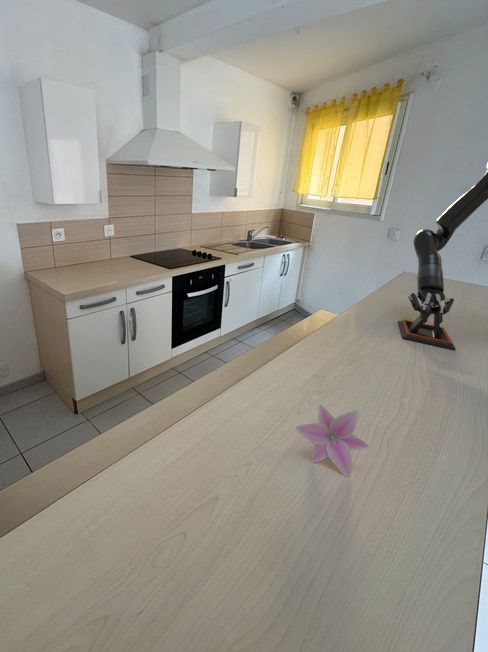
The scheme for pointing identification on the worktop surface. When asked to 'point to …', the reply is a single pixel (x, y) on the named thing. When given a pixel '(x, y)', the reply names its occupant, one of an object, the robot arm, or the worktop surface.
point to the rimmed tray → (406, 334)
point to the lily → (334, 438)
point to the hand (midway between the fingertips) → (431, 322)
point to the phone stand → (419, 322)
